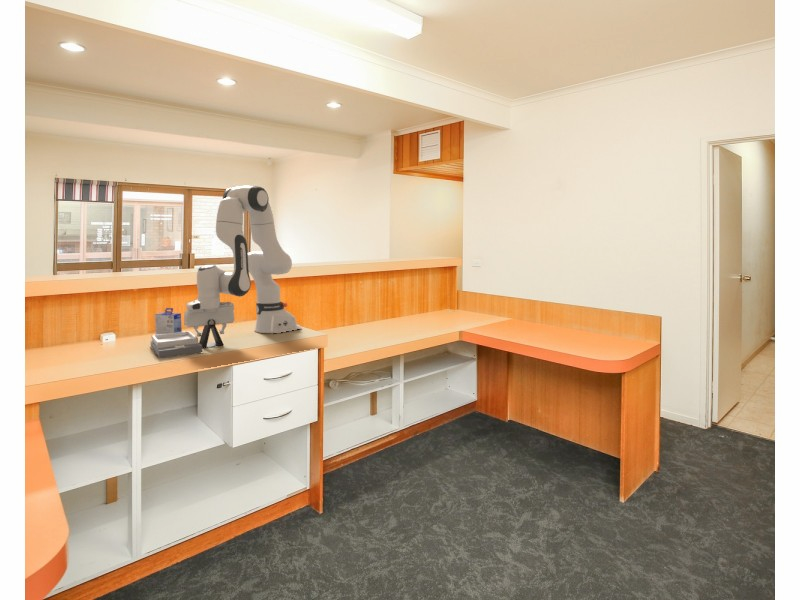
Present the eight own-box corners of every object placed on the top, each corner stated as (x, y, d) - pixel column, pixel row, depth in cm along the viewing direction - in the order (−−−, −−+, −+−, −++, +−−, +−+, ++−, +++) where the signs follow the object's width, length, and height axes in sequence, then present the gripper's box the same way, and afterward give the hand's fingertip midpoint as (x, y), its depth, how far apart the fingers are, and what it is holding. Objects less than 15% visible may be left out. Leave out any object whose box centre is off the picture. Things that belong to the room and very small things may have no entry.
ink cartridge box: (183, 339, 222) (181, 308, 220) (175, 342, 217) (173, 310, 215) (163, 338, 224) (161, 307, 222) (155, 341, 219) (153, 309, 217)
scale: (191, 342, 217) (190, 330, 216) (202, 352, 200) (201, 339, 200) (150, 347, 207) (150, 335, 207) (159, 358, 191) (158, 344, 190)
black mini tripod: (202, 348, 207) (200, 320, 205) (198, 345, 212) (196, 318, 210) (223, 345, 212) (222, 318, 210) (219, 342, 217) (218, 316, 215)
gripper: (231, 300, 217) (232, 330, 220) (182, 304, 206) (184, 336, 208) (235, 302, 212) (237, 333, 214) (185, 306, 201) (187, 339, 203)
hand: (210, 335), depth 211 cm, fingers open, 8 cm apart
